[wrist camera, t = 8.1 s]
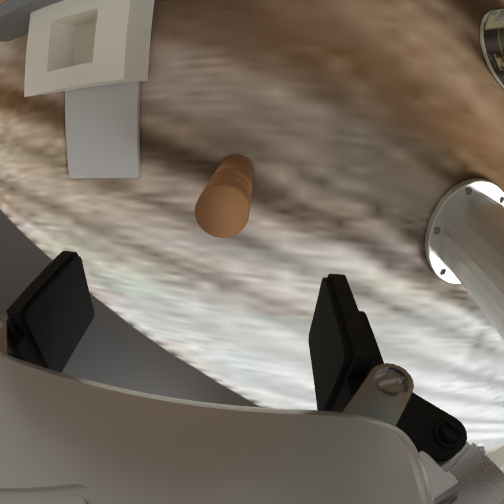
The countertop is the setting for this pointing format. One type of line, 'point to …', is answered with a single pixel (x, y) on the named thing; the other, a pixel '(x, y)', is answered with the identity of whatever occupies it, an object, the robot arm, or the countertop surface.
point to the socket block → (87, 45)
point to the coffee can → (493, 43)
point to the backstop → (89, 112)
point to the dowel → (226, 198)
